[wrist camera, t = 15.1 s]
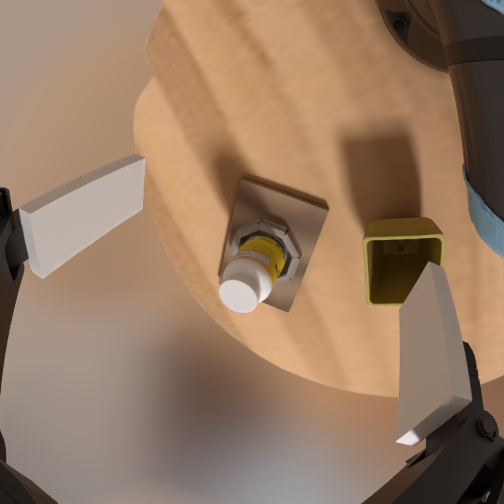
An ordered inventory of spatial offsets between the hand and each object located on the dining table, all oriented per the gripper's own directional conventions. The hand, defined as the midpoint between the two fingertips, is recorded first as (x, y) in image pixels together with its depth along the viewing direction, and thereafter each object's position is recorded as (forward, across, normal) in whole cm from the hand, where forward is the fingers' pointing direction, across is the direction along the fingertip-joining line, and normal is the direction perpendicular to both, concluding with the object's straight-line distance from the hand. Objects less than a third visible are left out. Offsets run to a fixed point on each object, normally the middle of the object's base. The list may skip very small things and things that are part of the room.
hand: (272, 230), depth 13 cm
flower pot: (+27, +12, -9) cm, 31 cm away
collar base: (+27, -4, -18) cm, 32 cm away
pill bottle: (+26, -4, -18) cm, 32 cm away
